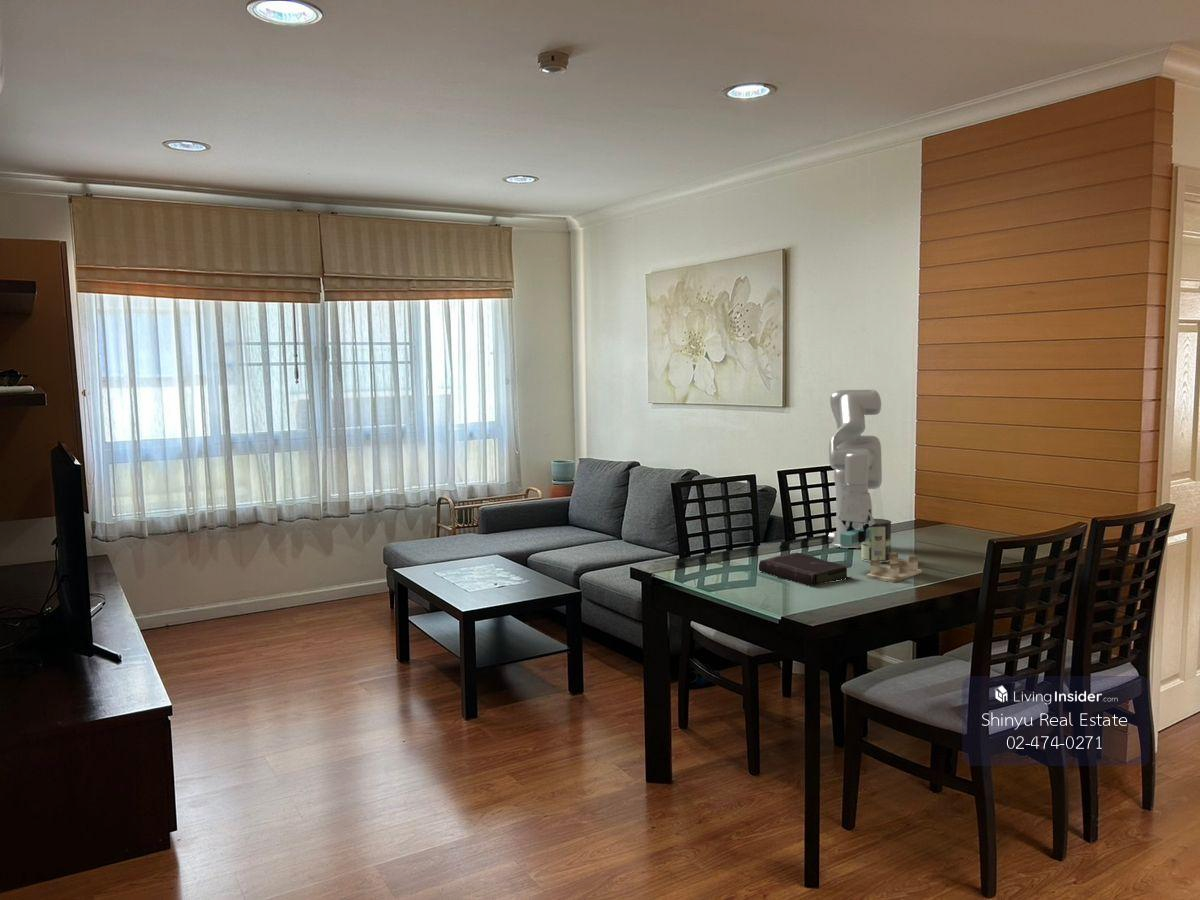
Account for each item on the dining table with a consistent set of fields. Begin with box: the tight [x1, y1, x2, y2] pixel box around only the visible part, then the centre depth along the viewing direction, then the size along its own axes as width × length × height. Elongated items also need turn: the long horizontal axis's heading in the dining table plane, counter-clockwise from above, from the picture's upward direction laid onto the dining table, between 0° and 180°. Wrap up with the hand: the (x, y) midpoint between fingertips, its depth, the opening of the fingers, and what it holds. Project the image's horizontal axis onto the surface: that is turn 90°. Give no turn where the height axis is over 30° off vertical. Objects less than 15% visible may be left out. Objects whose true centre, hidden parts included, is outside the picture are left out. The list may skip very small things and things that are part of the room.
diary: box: [758, 552, 852, 587], centre depth 288 cm, size 19×25×5 cm
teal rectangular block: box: [840, 527, 871, 547], centre depth 294 cm, size 4×14×4 cm, turn 133°
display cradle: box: [865, 552, 923, 584], centre depth 284 cm, size 10×18×6 cm, turn 132°
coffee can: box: [860, 518, 892, 564], centre depth 306 cm, size 10×10×14 cm
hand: (856, 540), depth 295 cm, fingers closed on teal rectangular block, 3 cm apart
